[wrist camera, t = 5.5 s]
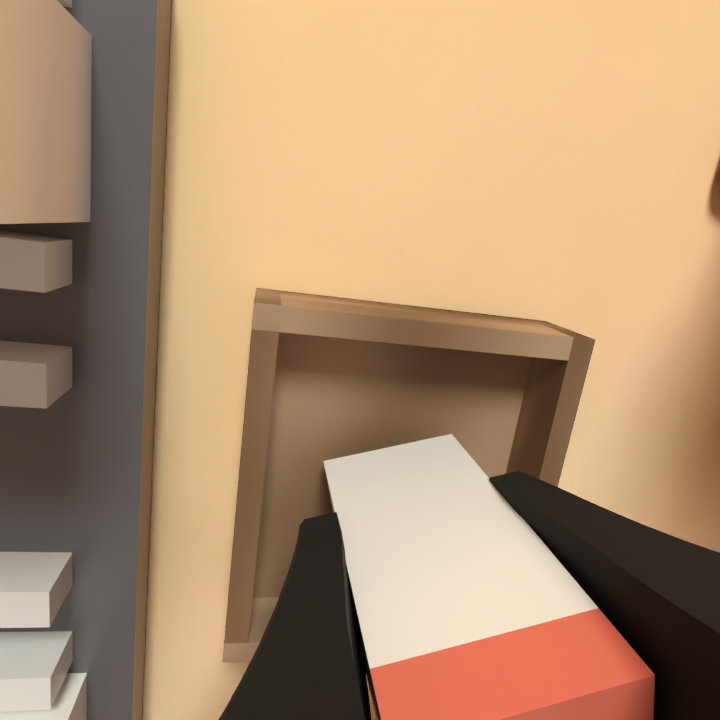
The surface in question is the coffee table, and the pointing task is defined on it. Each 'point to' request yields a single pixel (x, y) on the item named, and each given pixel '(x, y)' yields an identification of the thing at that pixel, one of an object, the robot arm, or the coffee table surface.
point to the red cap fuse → (470, 599)
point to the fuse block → (86, 391)
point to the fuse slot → (60, 703)
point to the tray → (381, 414)
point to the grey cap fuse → (44, 114)
